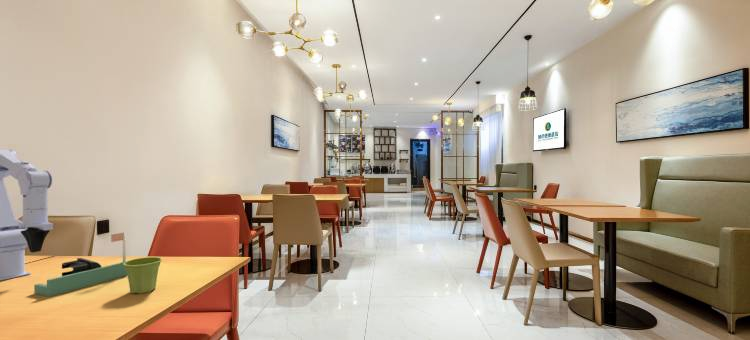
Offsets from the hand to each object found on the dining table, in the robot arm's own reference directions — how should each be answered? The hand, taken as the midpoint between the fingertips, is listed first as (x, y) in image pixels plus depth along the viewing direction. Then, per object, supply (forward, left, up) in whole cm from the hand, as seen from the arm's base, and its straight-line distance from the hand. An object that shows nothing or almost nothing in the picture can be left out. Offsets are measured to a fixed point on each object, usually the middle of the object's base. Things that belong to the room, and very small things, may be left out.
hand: (35, 251), depth 112 cm
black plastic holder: (+15, +5, -10) cm, 18 cm away
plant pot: (+41, +6, -10) cm, 43 cm away
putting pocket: (+18, +4, -9) cm, 20 cm away
